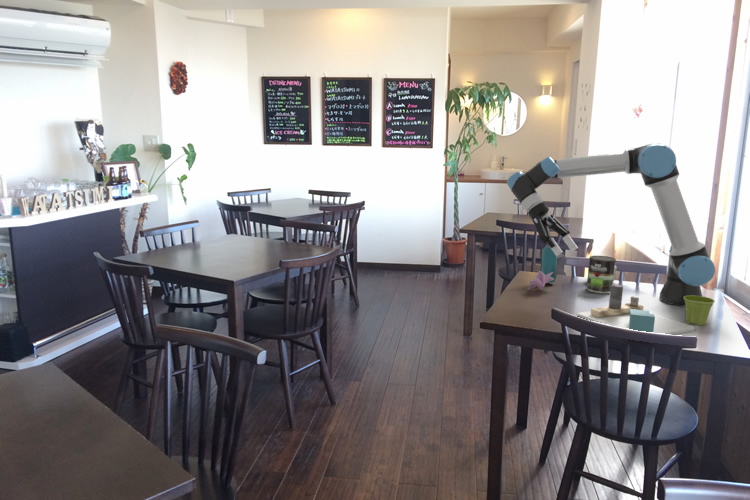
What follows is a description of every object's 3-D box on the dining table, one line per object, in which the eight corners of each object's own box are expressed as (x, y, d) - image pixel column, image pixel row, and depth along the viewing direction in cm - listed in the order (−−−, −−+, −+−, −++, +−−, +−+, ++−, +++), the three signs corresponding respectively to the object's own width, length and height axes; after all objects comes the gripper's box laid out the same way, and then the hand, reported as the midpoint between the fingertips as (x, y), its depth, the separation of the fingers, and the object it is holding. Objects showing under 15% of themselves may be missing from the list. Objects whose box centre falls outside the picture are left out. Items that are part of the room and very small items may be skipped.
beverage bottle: (557, 286, 240) (561, 240, 236) (542, 285, 239) (545, 240, 236) (552, 282, 246) (556, 238, 242) (537, 282, 246) (541, 238, 242)
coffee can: (607, 295, 226) (611, 261, 223) (582, 290, 233) (585, 257, 230) (616, 290, 234) (619, 257, 231) (591, 285, 240) (594, 254, 238)
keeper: (626, 320, 190) (628, 305, 189) (648, 323, 188) (650, 307, 187) (629, 330, 180) (631, 314, 179) (653, 333, 178) (655, 316, 177)
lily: (558, 293, 232) (550, 271, 234) (562, 289, 221) (554, 266, 223) (530, 300, 234) (523, 279, 236) (532, 297, 222) (525, 274, 225)
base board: (624, 307, 209) (625, 304, 209) (694, 330, 184) (694, 327, 184) (576, 315, 198) (576, 313, 198) (643, 341, 174) (643, 338, 174)
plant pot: (691, 327, 187) (694, 302, 186) (674, 318, 197) (677, 295, 195) (717, 327, 188) (721, 302, 186) (700, 318, 197) (703, 295, 196)
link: (633, 307, 205) (636, 281, 203) (646, 312, 199) (649, 285, 197) (588, 313, 197) (590, 286, 195) (600, 318, 192) (603, 290, 190)
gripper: (542, 211, 225) (573, 253, 218) (512, 215, 207) (545, 261, 200) (556, 199, 220) (588, 242, 214) (527, 203, 202) (560, 250, 196)
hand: (567, 252), depth 207 cm, fingers open, 13 cm apart
